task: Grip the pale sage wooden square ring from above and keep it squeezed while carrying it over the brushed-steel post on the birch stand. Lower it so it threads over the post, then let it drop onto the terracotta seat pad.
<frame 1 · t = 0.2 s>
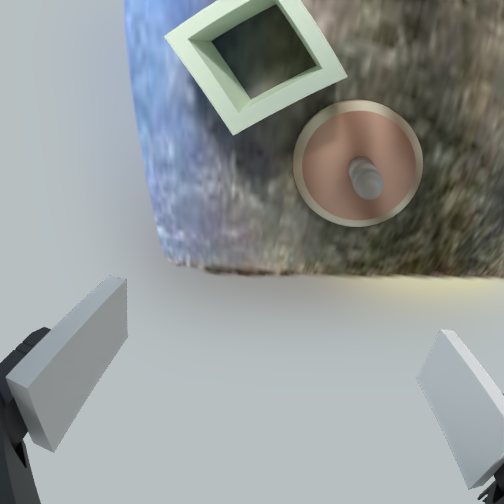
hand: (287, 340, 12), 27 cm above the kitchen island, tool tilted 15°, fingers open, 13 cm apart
square ring: (263, 51, 28), on the kitchen island
post stand: (358, 163, 34), on the kitchen island
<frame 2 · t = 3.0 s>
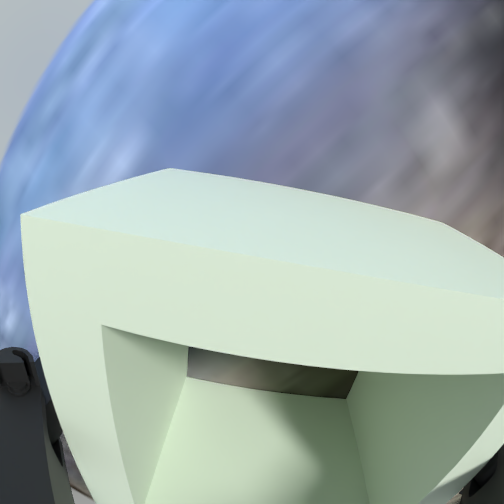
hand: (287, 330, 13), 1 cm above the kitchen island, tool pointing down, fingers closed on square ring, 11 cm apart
square ring: (286, 323, 13), on the kitchen island, touching gripper
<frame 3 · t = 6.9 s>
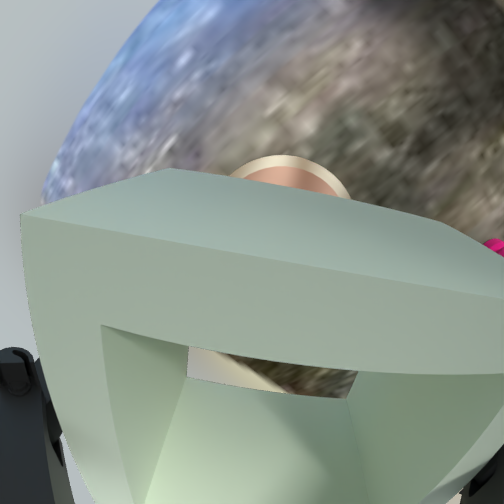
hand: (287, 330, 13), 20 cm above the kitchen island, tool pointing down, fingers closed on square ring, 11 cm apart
square ring: (286, 323, 13), point 20 cm above the kitchen island, touching gripper
post stand: (281, 230, 32), on the kitchen island
pepper mill: (489, 261, 32), on the kitchen island
when the fingers open (4 cm above the kitchen island, at t = 11.1 s): square ring drops 2 cm, resting on post stand.
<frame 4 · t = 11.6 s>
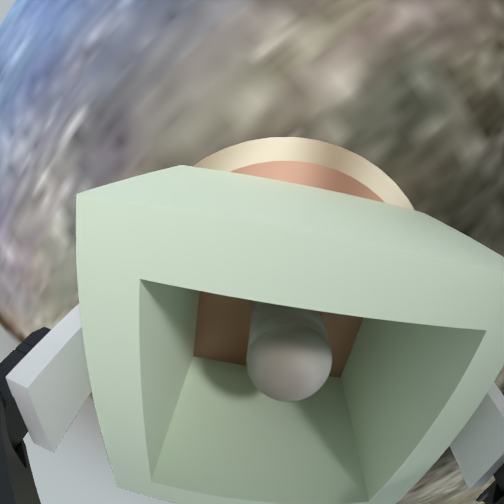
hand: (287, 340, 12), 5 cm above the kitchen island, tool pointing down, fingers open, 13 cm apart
square ring: (284, 303, 15), point 2 cm above the kitchen island, touching post stand
post stand: (283, 288, 17), on the kitchen island
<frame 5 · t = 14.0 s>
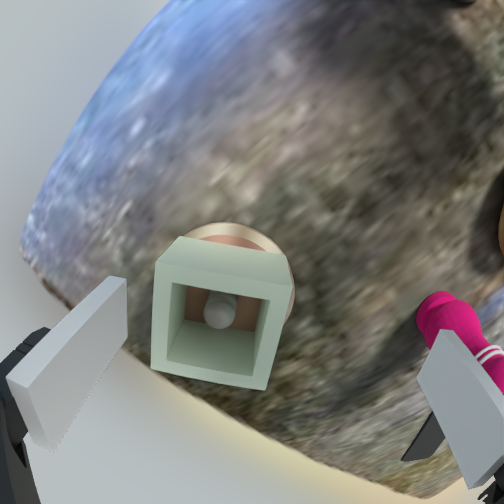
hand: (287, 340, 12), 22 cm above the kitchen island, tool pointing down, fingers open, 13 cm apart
square ring: (224, 294, 34), point 2 cm above the kitchen island, touching post stand
post stand: (225, 288, 36), on the kitchen island
phone: (431, 432, 44), on the kitchen island
pepper mill: (435, 312, 37), on the kitchen island
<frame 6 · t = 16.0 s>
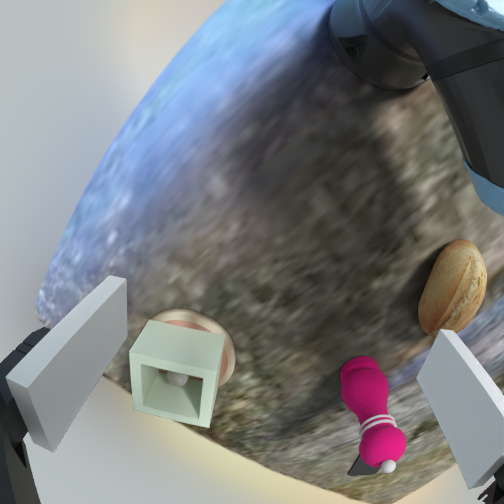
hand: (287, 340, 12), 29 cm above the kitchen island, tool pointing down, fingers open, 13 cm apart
square ring: (184, 357, 45), point 2 cm above the kitchen island, touching post stand
bread roll: (440, 282, 42), on the kitchen island
post stand: (186, 351, 47), on the kitchen island
phone: (372, 454, 55), on the kitchen island
pepper mill: (358, 370, 47), on the kitchen island
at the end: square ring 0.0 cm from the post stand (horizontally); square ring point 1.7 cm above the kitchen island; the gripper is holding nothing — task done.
